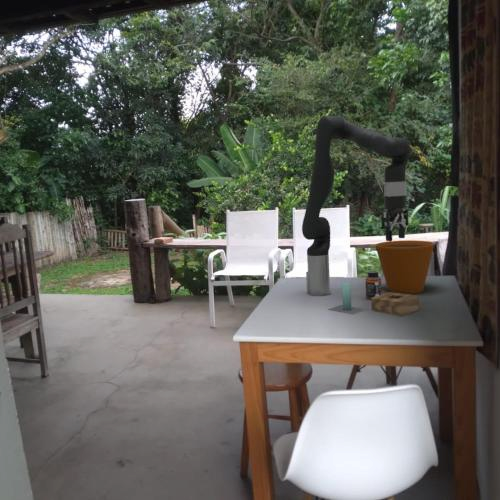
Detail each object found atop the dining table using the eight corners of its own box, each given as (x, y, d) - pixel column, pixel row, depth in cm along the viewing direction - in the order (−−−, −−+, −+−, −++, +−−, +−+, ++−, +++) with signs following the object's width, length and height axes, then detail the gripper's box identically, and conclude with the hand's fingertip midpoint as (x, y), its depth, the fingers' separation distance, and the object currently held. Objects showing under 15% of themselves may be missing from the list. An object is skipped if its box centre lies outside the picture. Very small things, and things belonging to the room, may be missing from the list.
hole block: (371, 311, 177) (371, 298, 177) (390, 304, 185) (389, 291, 185) (401, 316, 168) (400, 302, 168) (419, 309, 176) (418, 295, 176)
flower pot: (446, 289, 206) (446, 242, 203) (410, 298, 193) (409, 249, 190) (400, 282, 225) (399, 239, 223) (365, 290, 212) (363, 245, 210)
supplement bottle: (381, 301, 192) (381, 272, 190) (366, 301, 193) (365, 273, 192) (380, 297, 198) (380, 270, 196) (365, 297, 199) (365, 270, 197)
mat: (326, 310, 182) (326, 309, 182) (341, 305, 188) (341, 304, 188) (353, 315, 173) (353, 314, 173) (367, 310, 179) (367, 309, 179)
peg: (341, 309, 181) (340, 283, 180) (346, 307, 183) (345, 281, 181) (348, 310, 179) (347, 284, 177) (352, 309, 180) (352, 282, 179)
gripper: (396, 193, 181) (396, 236, 183) (374, 195, 172) (375, 241, 174) (414, 193, 176) (415, 237, 178) (393, 195, 166) (394, 242, 168)
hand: (395, 239), depth 176 cm, fingers open, 8 cm apart
